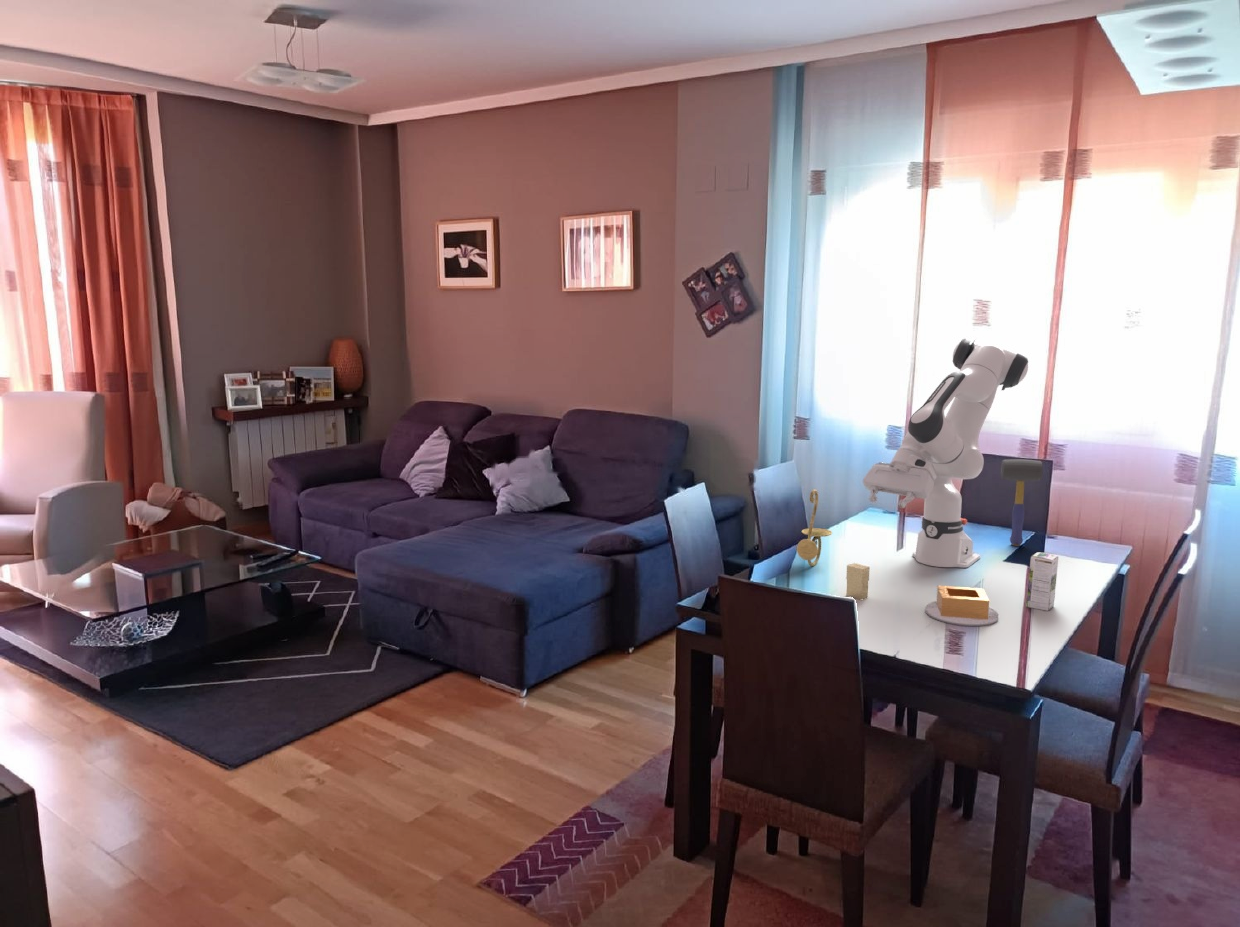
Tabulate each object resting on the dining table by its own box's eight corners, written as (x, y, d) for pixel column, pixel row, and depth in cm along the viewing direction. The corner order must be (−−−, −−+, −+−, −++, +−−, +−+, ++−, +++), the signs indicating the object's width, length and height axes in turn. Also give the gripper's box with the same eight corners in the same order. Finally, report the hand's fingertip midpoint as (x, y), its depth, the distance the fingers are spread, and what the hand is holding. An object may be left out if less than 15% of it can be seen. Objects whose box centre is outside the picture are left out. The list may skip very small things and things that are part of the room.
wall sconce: (821, 573, 271) (824, 494, 267) (791, 569, 276) (793, 491, 271) (834, 562, 283) (837, 486, 278) (806, 558, 288) (808, 483, 283)
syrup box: (1031, 601, 244) (1035, 551, 241) (1054, 606, 240) (1058, 554, 238) (1025, 607, 239) (1029, 555, 237) (1049, 611, 236) (1053, 559, 233)
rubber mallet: (1033, 543, 304) (1040, 458, 299) (1037, 549, 297) (1044, 461, 292) (995, 541, 308) (1000, 456, 303) (997, 546, 301) (1004, 460, 296)
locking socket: (922, 601, 245) (923, 580, 243) (991, 606, 240) (993, 585, 239) (929, 623, 227) (930, 601, 226) (1003, 629, 223) (1005, 606, 222)
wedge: (853, 593, 252) (854, 563, 250) (868, 597, 248) (869, 566, 247) (845, 596, 249) (846, 565, 248) (860, 600, 246) (862, 569, 244)
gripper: (871, 455, 263) (851, 491, 258) (934, 463, 248) (914, 502, 243) (879, 468, 267) (859, 504, 262) (941, 477, 251) (921, 516, 247)
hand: (886, 503), depth 252 cm, fingers open, 8 cm apart
